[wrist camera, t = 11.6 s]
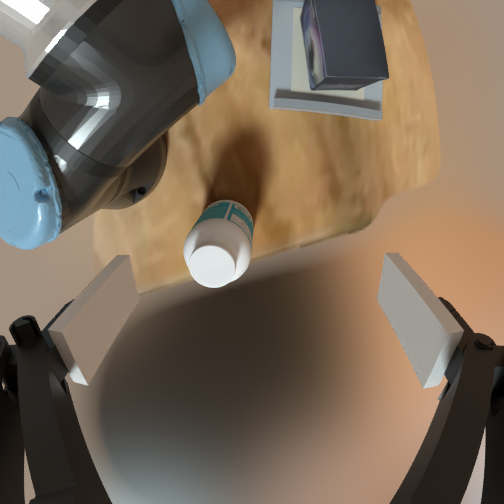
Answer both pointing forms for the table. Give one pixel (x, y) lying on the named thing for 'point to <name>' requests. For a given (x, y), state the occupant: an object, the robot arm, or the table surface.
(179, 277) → the table surface
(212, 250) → the pill bottle
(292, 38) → the dock
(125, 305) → the robot arm
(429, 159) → the table surface
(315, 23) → the small box
